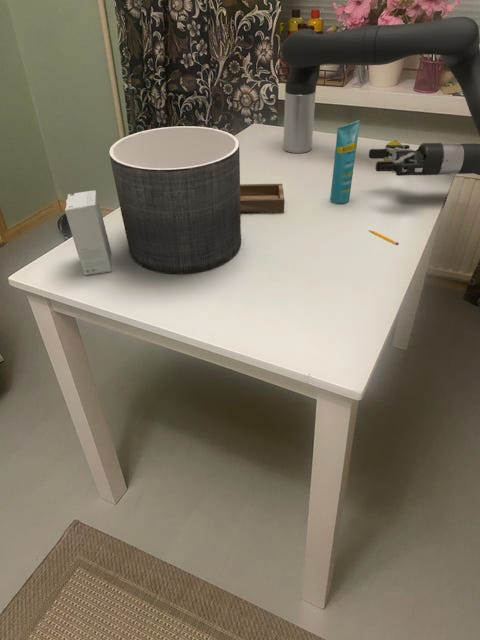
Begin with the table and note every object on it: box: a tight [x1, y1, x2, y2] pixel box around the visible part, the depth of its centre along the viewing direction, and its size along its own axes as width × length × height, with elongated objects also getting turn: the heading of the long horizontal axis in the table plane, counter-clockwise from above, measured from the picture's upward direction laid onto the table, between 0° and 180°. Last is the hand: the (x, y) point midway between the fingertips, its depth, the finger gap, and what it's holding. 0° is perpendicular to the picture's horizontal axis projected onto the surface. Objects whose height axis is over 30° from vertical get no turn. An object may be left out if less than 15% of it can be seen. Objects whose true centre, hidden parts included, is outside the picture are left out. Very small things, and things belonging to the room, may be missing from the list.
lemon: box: [382, 139, 402, 163], centre depth 137 cm, size 6×6×8 cm
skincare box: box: [64, 189, 113, 276], centre depth 96 cm, size 8×6×15 cm
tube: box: [329, 119, 361, 205], centre depth 116 cm, size 7×5×19 cm, turn 134°
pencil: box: [368, 229, 400, 246], centre depth 107 cm, size 1×9×1 cm, turn 36°
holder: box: [240, 183, 285, 215], centre depth 120 cm, size 10×12×4 cm
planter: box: [108, 125, 242, 275], centre depth 99 cm, size 25×25×22 cm
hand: (372, 160), depth 116 cm, fingers open, 8 cm apart
